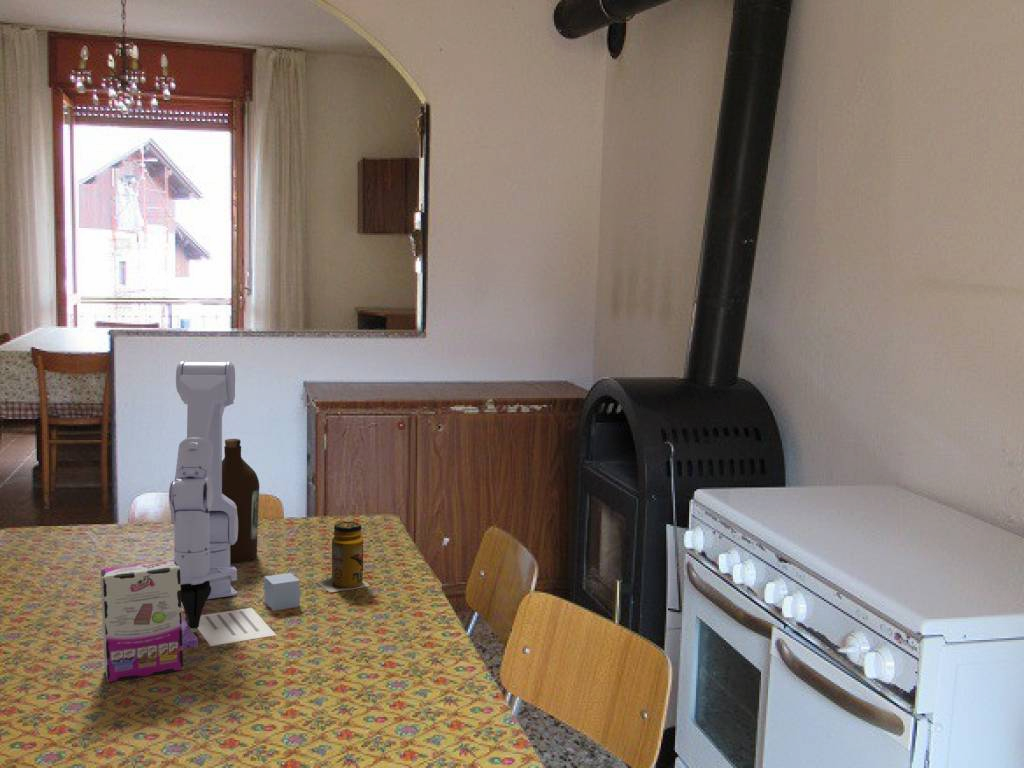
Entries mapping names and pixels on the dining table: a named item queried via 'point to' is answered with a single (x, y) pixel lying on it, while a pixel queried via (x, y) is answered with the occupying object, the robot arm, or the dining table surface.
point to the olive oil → (241, 500)
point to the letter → (233, 627)
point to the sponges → (188, 636)
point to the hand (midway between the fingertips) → (193, 626)
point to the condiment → (346, 558)
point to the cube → (282, 591)
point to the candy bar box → (141, 620)
